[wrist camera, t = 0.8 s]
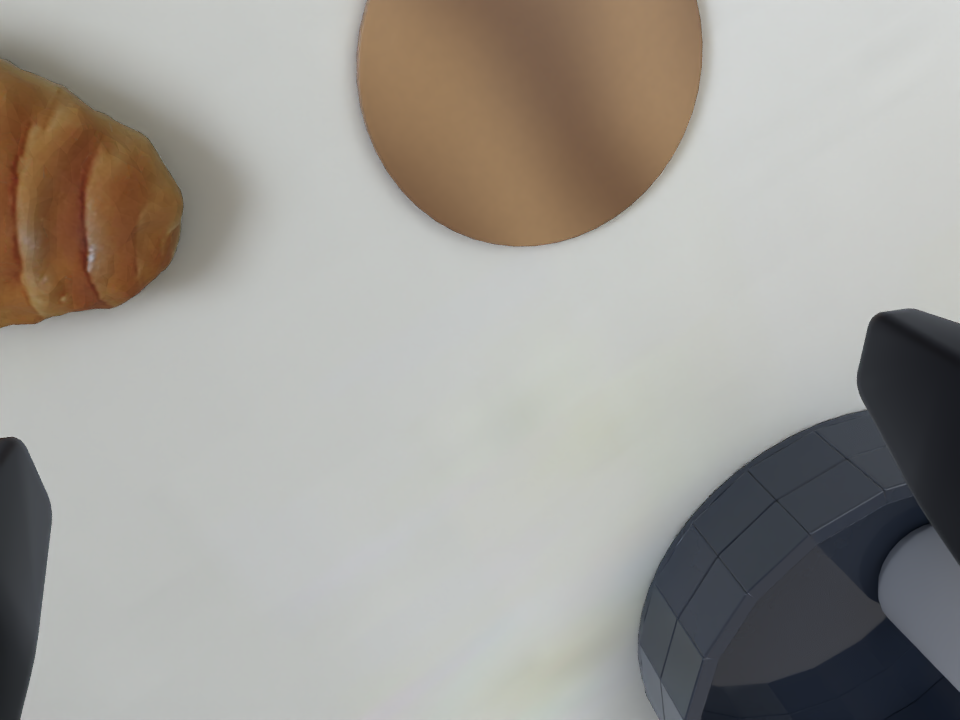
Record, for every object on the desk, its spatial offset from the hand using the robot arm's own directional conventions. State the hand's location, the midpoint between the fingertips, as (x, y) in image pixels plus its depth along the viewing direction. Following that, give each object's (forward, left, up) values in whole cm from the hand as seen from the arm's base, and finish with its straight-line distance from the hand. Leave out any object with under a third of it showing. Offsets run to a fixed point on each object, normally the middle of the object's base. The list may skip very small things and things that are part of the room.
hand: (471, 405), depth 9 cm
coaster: (+5, -2, -14) cm, 15 cm away
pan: (-1, -25, -14) cm, 29 cm away
